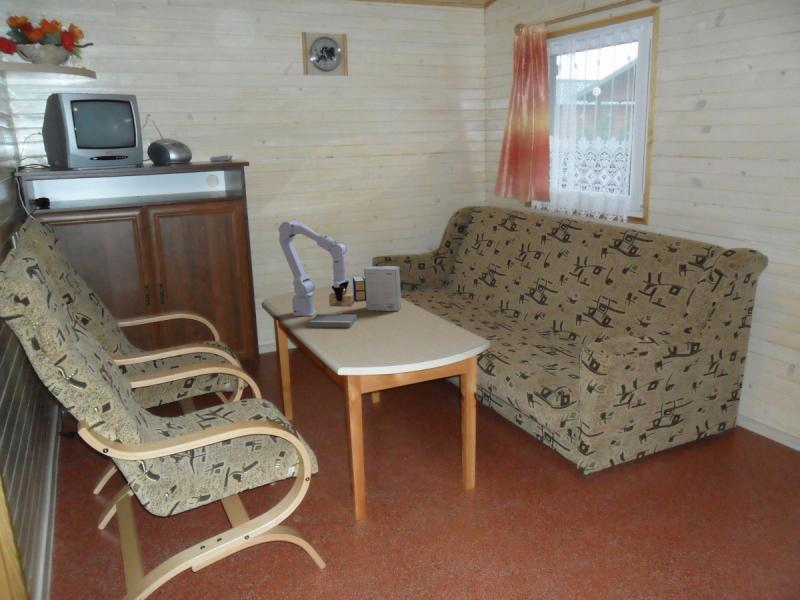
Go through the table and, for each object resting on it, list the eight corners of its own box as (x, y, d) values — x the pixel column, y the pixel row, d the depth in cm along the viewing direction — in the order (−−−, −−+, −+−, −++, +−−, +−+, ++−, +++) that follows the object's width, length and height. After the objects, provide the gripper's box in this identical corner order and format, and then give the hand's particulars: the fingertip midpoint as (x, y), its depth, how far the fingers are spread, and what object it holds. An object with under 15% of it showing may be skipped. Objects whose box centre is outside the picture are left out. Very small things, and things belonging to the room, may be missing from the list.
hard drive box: (401, 307, 307) (400, 266, 302) (397, 311, 300) (395, 269, 295) (370, 306, 311) (368, 265, 306) (365, 310, 304) (363, 269, 299)
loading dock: (309, 327, 280) (309, 321, 280) (317, 319, 292) (317, 313, 291) (350, 327, 278) (349, 322, 277) (356, 319, 289) (356, 314, 288)
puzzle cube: (353, 296, 332) (352, 277, 329) (372, 294, 334) (371, 275, 331) (355, 300, 322) (354, 281, 320) (375, 299, 324) (374, 279, 322)
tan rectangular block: (329, 306, 293) (328, 295, 292) (332, 303, 298) (332, 292, 297) (351, 306, 291) (350, 295, 290) (353, 303, 297) (353, 292, 295)
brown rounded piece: (335, 295, 292) (335, 289, 291) (338, 293, 296) (337, 287, 295) (344, 295, 291) (344, 290, 291) (346, 293, 295) (346, 287, 294)
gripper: (344, 273, 283) (346, 303, 286) (351, 266, 297) (353, 295, 300) (328, 273, 284) (330, 303, 288) (337, 266, 298) (338, 295, 301)
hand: (341, 299), depth 294 cm, fingers closed on tan rectangular block, 6 cm apart
